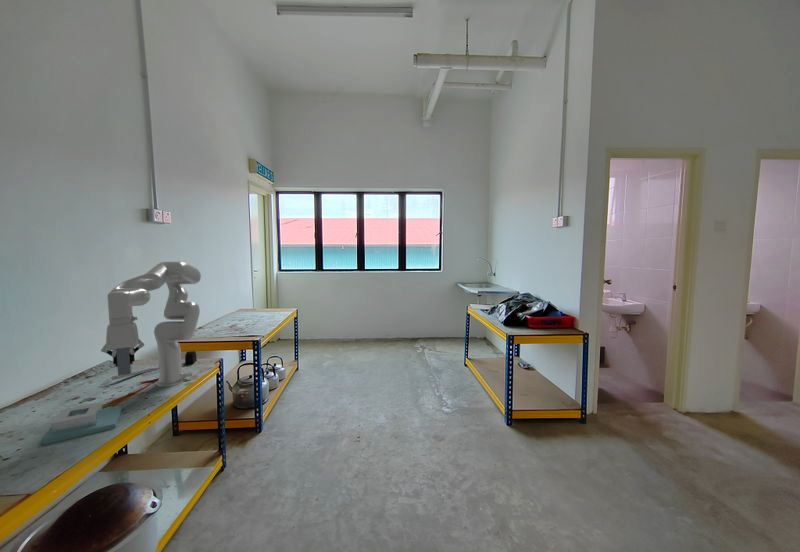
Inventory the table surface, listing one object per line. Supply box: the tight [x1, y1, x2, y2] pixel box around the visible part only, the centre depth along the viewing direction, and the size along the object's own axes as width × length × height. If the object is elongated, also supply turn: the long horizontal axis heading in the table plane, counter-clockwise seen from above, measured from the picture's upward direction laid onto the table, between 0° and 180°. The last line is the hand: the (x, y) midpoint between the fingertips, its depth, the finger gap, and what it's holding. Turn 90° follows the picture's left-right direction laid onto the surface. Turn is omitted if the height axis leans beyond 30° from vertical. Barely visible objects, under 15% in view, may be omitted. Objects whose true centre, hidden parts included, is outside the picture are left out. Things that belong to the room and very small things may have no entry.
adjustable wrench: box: [111, 365, 159, 381], centre depth 182 cm, size 25×6×2 cm, turn 160°
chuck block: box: [41, 402, 124, 446], centre depth 133 cm, size 20×18×6 cm
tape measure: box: [184, 350, 197, 366], centre depth 203 cm, size 15×4×8 cm, turn 16°
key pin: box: [116, 347, 133, 376], centre depth 140 cm, size 4×4×12 cm
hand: (124, 364), depth 141 cm, fingers closed on key pin, 4 cm apart
